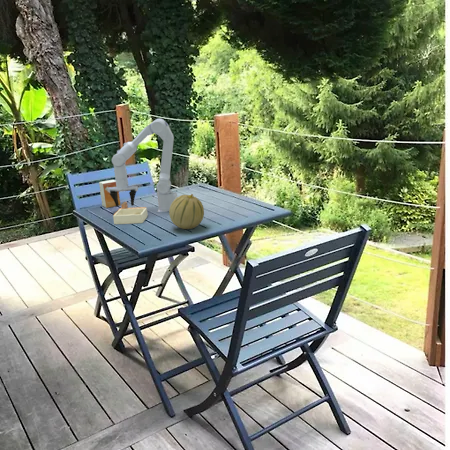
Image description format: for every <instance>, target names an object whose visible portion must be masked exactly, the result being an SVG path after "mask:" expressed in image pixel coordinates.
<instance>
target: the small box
mask: <svg viewBox="0 0 450 450" xmlns="http://www.w3.org/2000/svg"><path fill="white" fill-rule="evenodd" d="M98 186H99V193H100V200H101V205H102V207H104V208H106V209H107V208H113V207H119V206H121V198H120V191H117V195H118V203H119V205H118V206H116V204H115V202H114V200H113V198H112V197H111V195H110V192H108V188H109V187H116V180H115V179H110V180H109V179H108V180H103V181H99V182H98Z"/></svg>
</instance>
